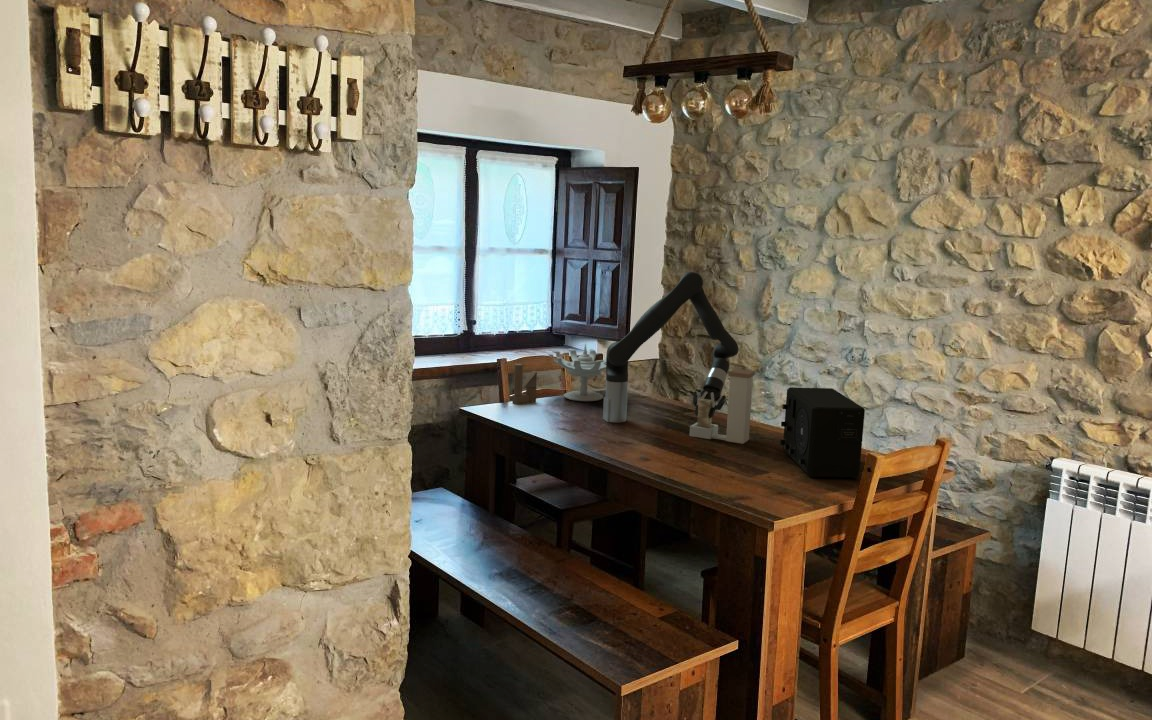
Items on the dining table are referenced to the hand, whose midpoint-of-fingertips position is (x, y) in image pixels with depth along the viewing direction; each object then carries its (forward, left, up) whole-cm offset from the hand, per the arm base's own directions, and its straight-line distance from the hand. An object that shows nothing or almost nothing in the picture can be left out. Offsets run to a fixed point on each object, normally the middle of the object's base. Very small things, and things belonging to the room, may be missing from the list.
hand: (703, 415), depth 354 cm
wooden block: (-56, +71, -9) cm, 91 cm away
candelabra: (-26, +76, -9) cm, 81 cm away
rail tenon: (+1, +1, -8) cm, 8 cm away
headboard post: (+6, -3, -8) cm, 11 cm away
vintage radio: (+24, -45, -9) cm, 51 cm away
